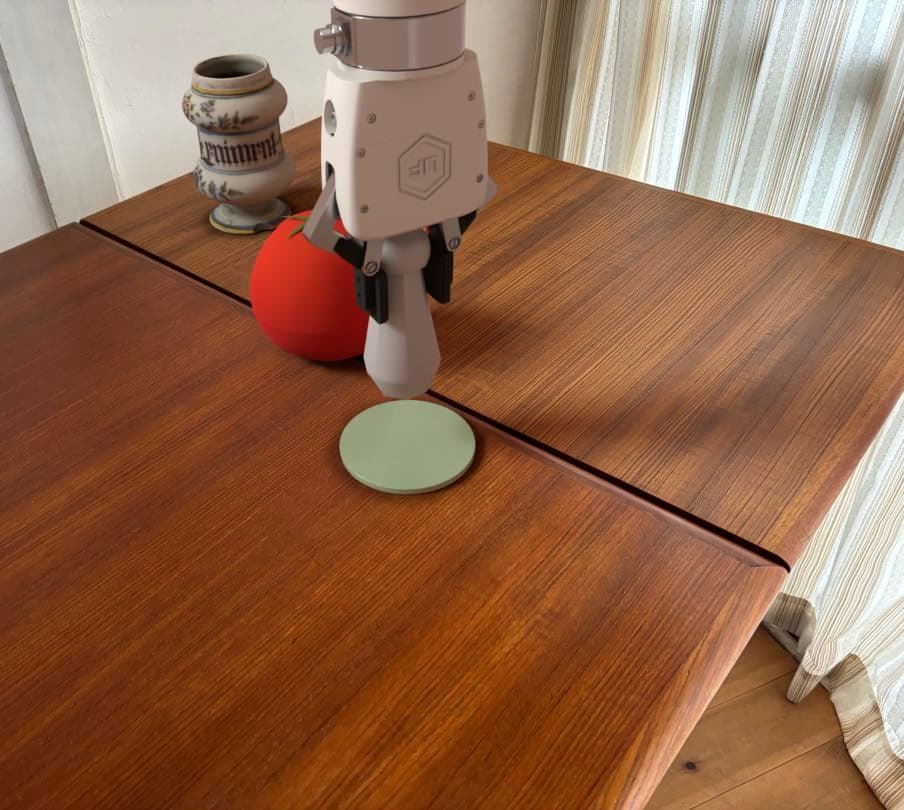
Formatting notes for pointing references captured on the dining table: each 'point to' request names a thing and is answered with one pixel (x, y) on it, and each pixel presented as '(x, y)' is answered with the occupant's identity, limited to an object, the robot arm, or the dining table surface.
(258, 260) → the tomato
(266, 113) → the apothecary jar
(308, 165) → the dining table surface
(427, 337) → the salt shaker
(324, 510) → the dining table surface
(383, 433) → the coaster
